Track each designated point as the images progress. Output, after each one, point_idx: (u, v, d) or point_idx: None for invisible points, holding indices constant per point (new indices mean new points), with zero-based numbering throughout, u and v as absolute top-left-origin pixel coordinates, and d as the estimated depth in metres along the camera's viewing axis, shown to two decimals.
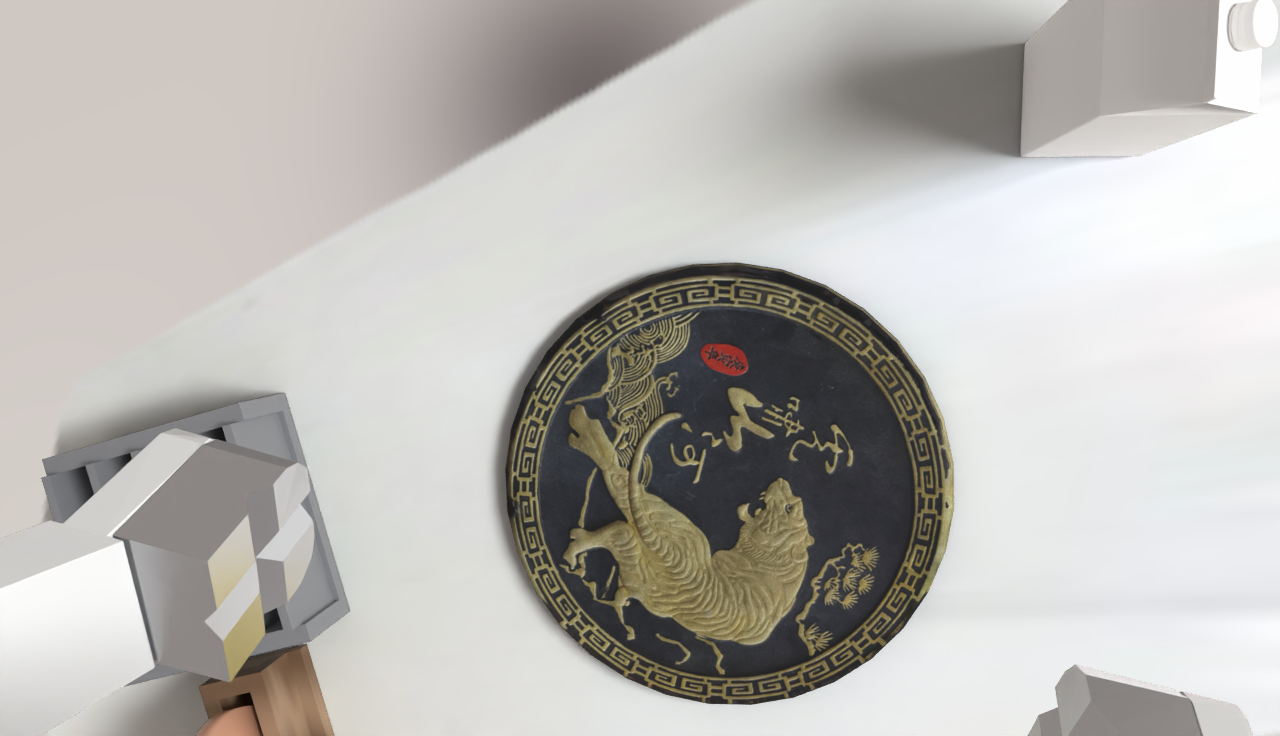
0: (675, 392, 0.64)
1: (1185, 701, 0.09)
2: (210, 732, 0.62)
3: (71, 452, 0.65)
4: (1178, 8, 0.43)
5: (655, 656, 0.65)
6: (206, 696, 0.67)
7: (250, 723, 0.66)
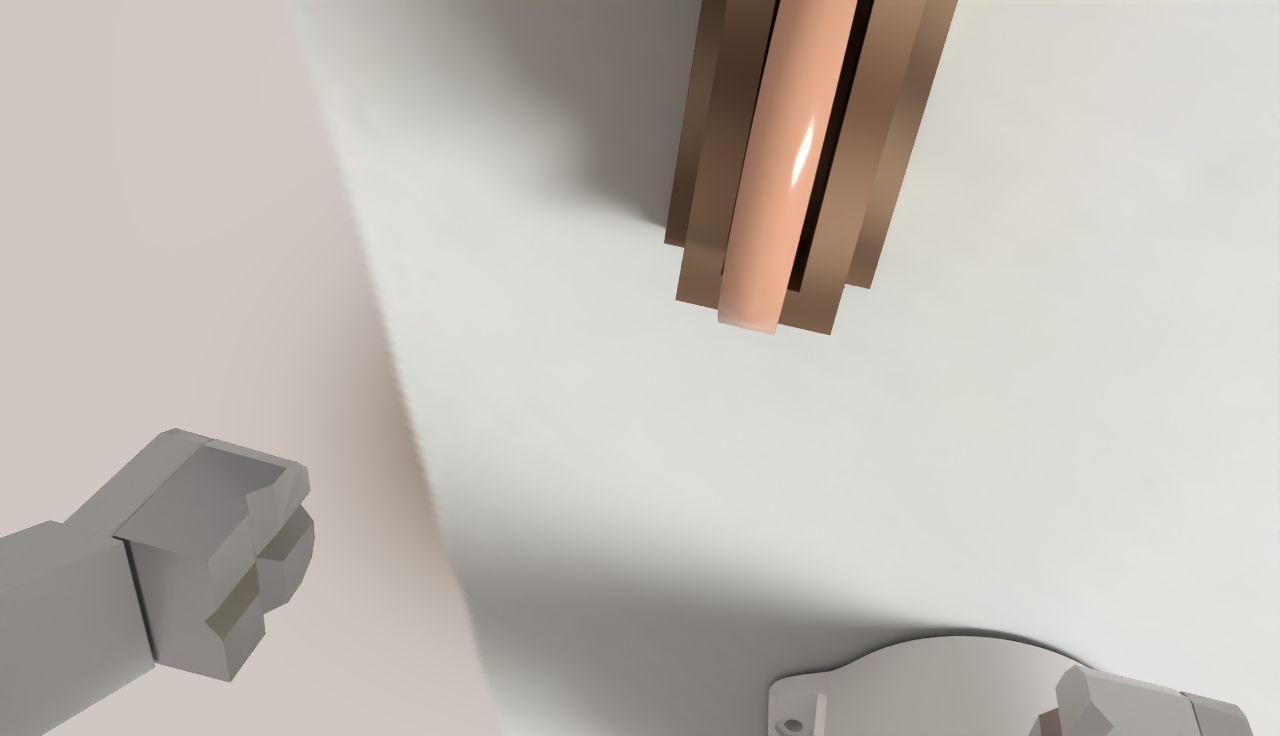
0: None
1: (1184, 701, 0.09)
2: None
3: None
4: None
5: None
6: None
7: None
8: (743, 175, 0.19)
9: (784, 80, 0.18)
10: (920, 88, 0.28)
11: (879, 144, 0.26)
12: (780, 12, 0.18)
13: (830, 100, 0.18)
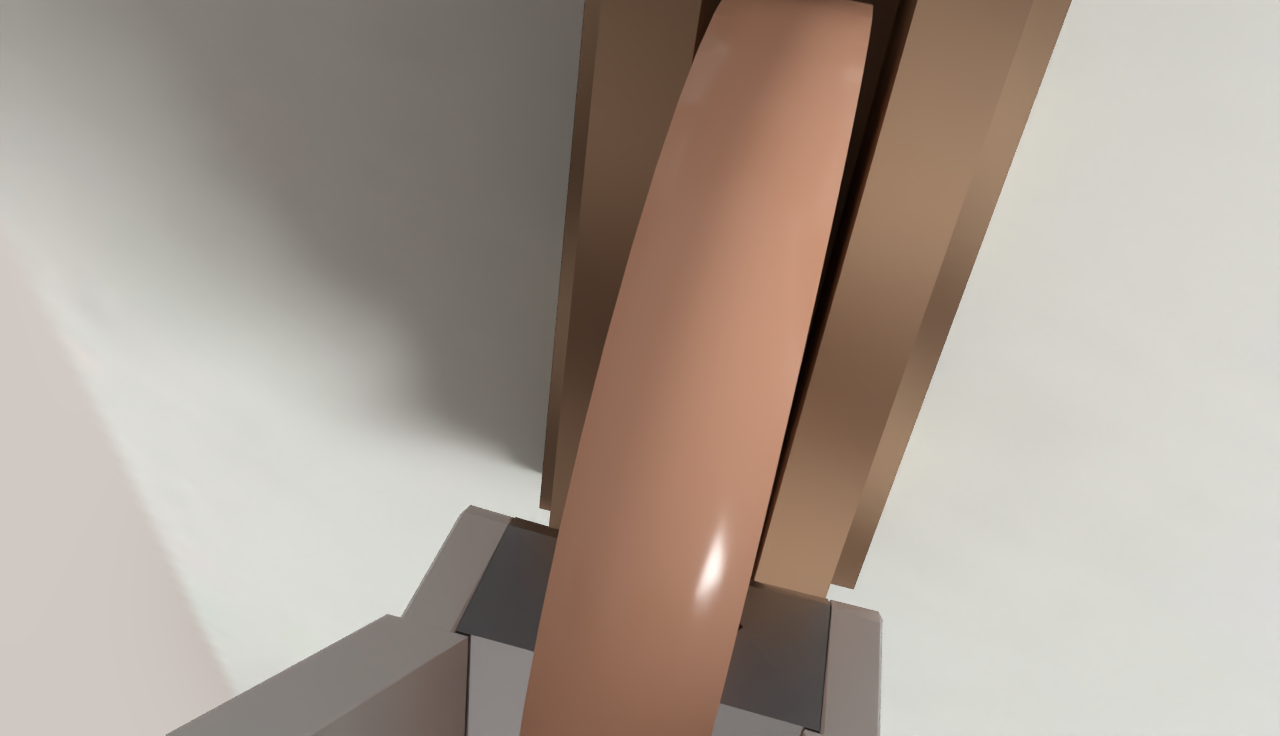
0: None
1: (824, 608, 0.09)
2: (815, 115, 0.08)
3: None
4: None
5: None
6: None
7: None
8: None
9: (594, 629, 0.07)
10: (933, 321, 0.17)
11: (863, 461, 0.14)
12: (584, 453, 0.07)
13: (713, 688, 0.07)
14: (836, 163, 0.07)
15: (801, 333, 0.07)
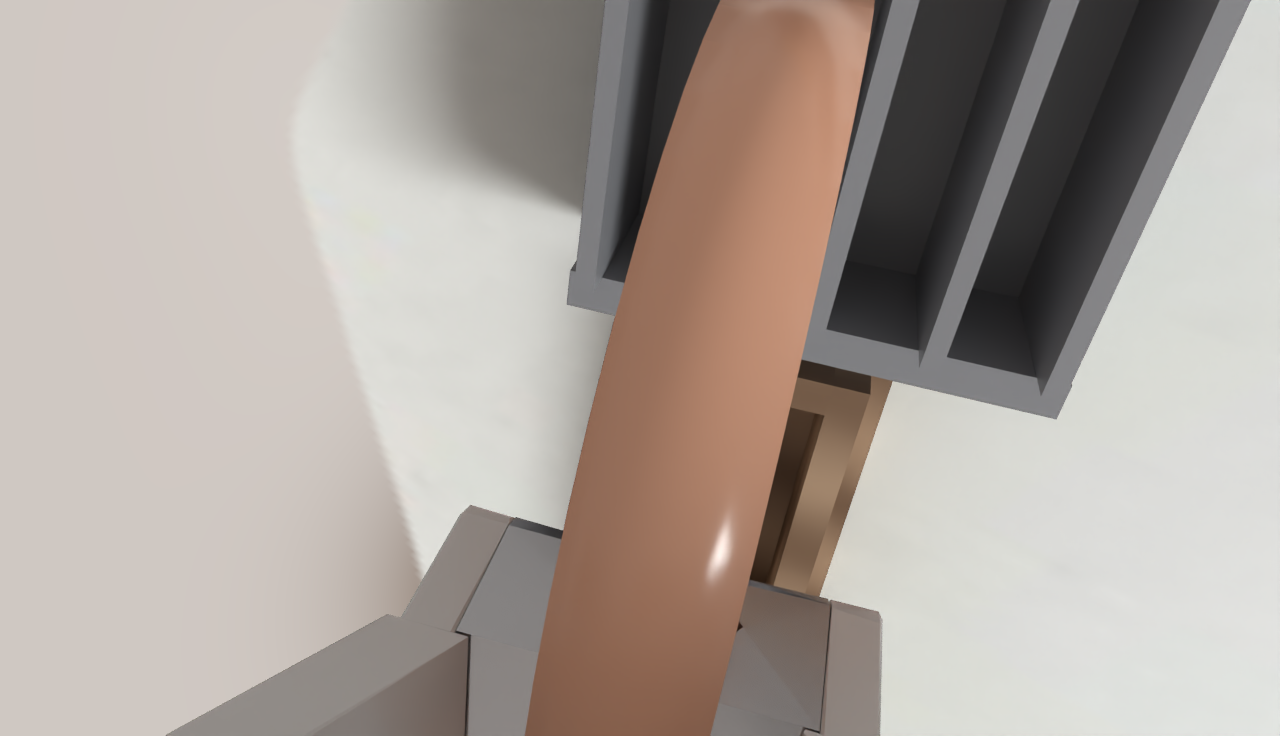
0: None
1: (823, 607, 0.09)
2: (818, 102, 0.08)
3: None
4: None
5: None
6: None
7: None
8: None
9: (602, 604, 0.07)
10: (840, 508, 0.38)
11: (806, 576, 0.36)
12: (593, 431, 0.07)
13: (720, 662, 0.07)
14: (838, 148, 0.08)
15: (805, 314, 0.07)
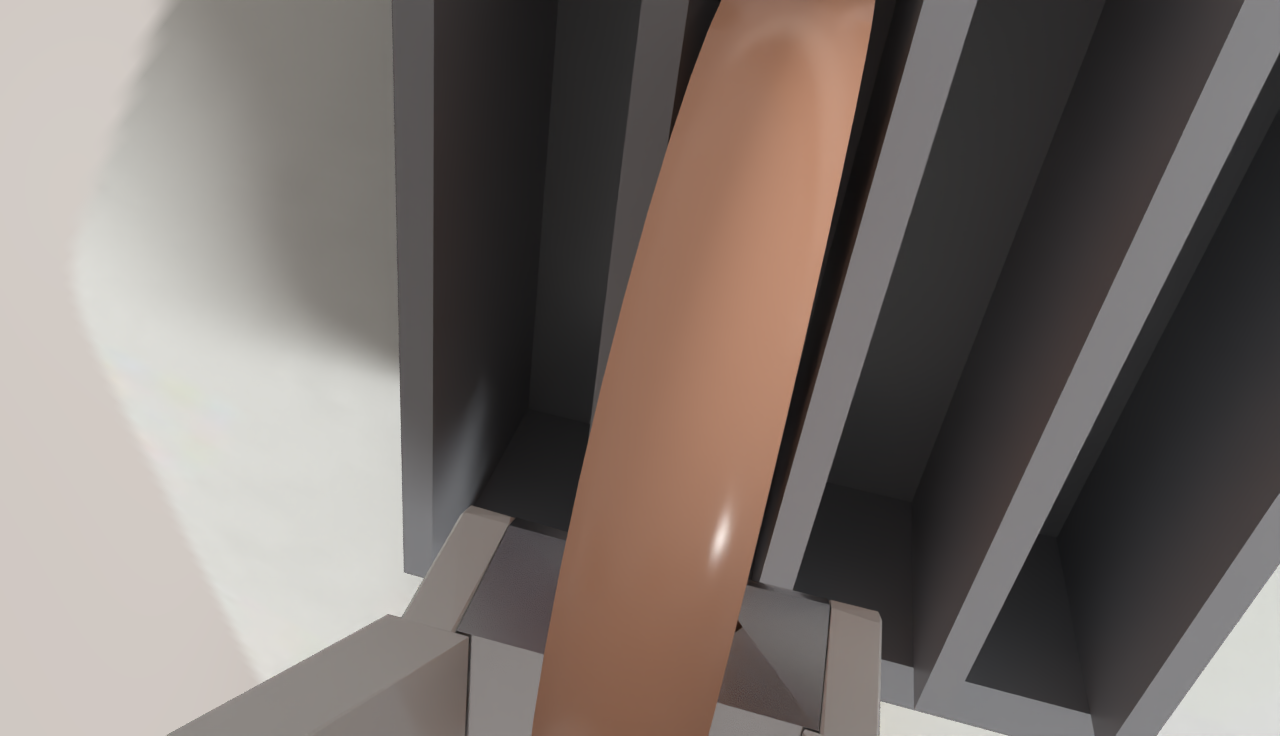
0: None
1: (823, 607, 0.09)
2: (821, 88, 0.08)
3: None
4: None
5: None
6: None
7: None
8: None
9: (612, 572, 0.07)
10: None
11: None
12: (603, 405, 0.07)
13: (727, 630, 0.07)
14: (841, 133, 0.08)
15: (809, 291, 0.07)
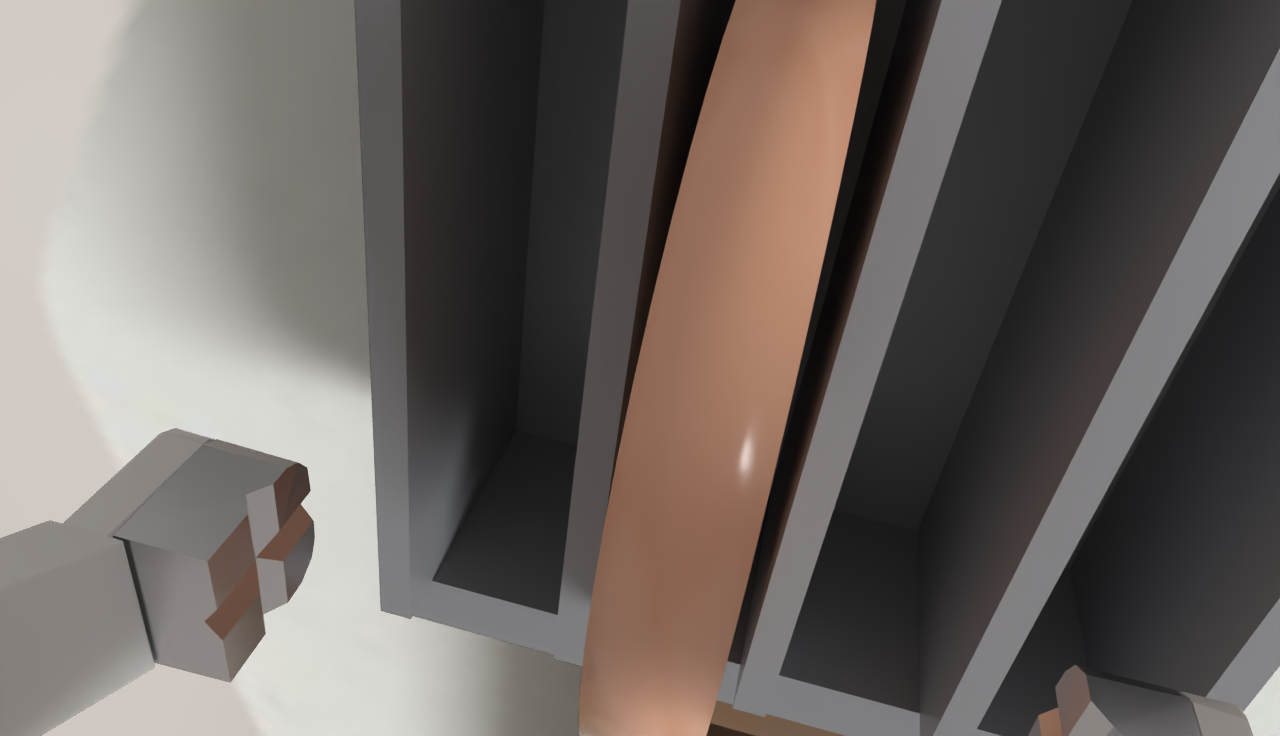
0: None
1: (1183, 701, 0.09)
2: (835, 47, 0.09)
3: None
4: None
5: None
6: None
7: None
8: (592, 616, 0.09)
9: (663, 455, 0.09)
10: None
11: None
12: (654, 313, 0.09)
13: (760, 501, 0.09)
14: (853, 84, 0.09)
15: (827, 215, 0.09)
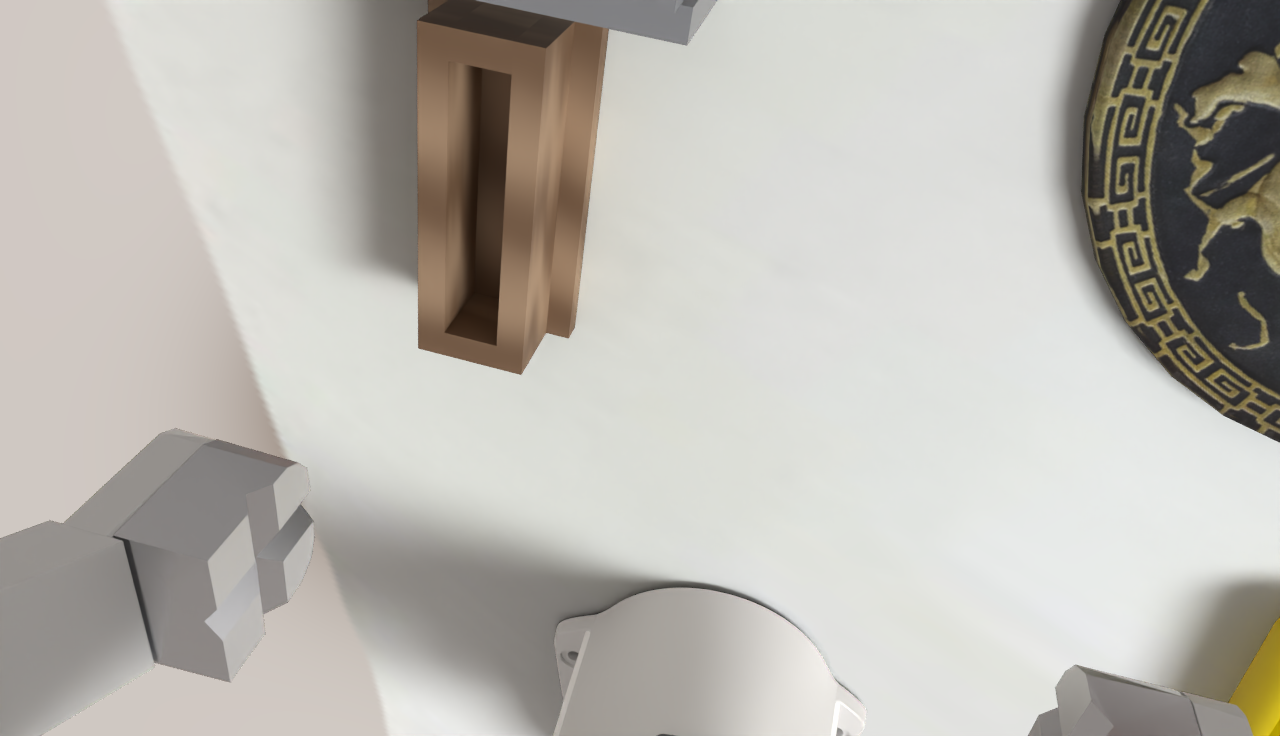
0: None
1: (1184, 701, 0.09)
2: None
3: None
4: None
5: (1207, 320, 0.37)
6: (425, 44, 0.34)
7: None
8: None
9: None
10: (576, 208, 0.41)
11: (527, 254, 0.38)
12: None
13: None
14: None
15: None
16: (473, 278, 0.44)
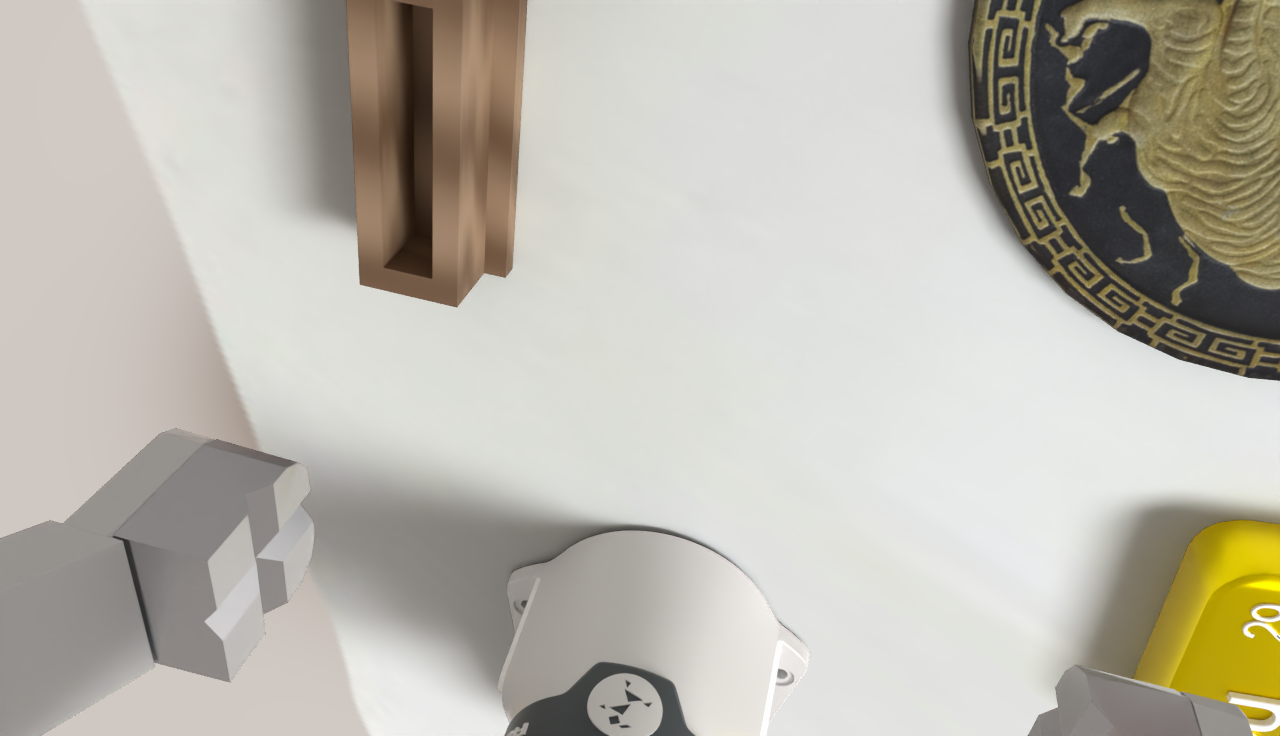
0: None
1: (1184, 701, 0.09)
2: None
3: None
4: None
5: (1093, 236, 0.39)
6: None
7: None
8: None
9: None
10: (505, 147, 0.43)
11: (456, 185, 0.41)
12: None
13: None
14: None
15: None
16: (413, 220, 0.46)
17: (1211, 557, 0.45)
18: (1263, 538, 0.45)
